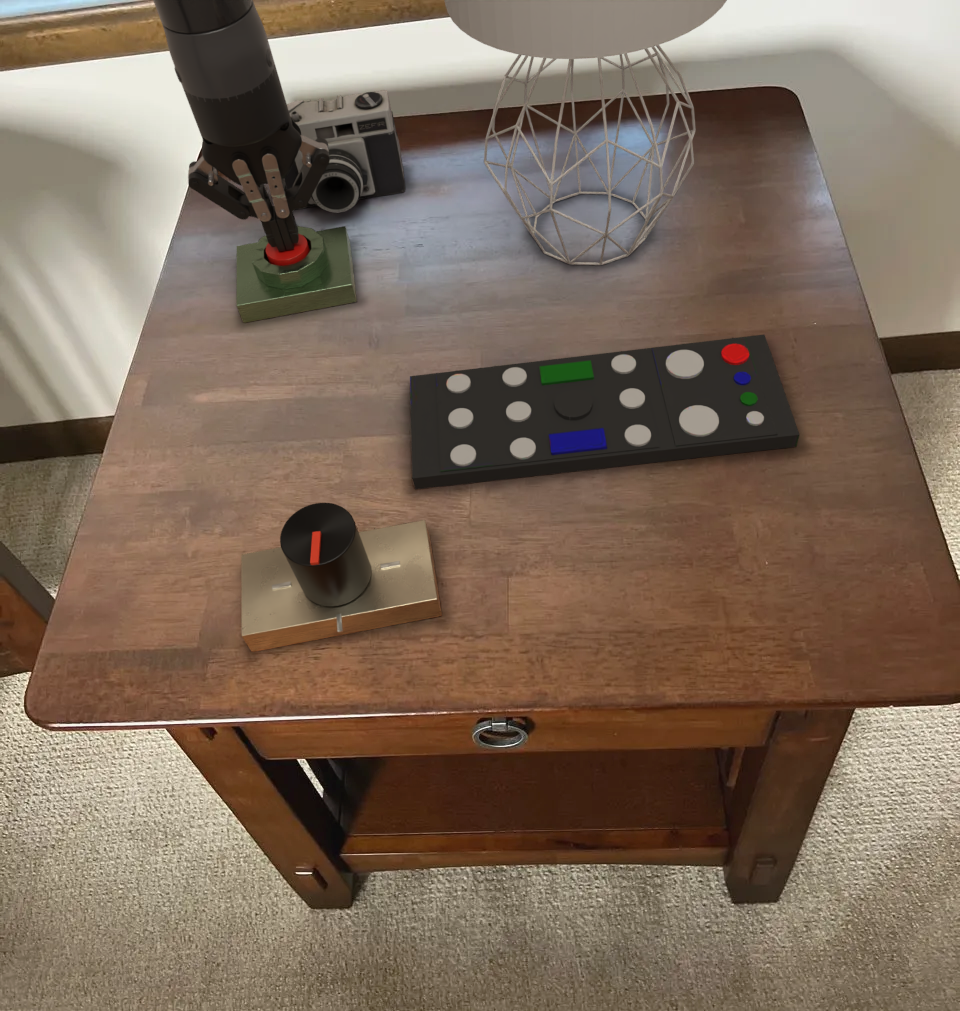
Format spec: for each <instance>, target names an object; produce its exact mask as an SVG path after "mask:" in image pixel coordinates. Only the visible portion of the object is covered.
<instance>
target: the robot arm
mask: <svg viewBox="0 0 960 1011" xmlns="http://www.w3.org/2000/svg"><path fill="white" fill-rule="evenodd" d="M152 1H153V4H154V6H155V9H156V12H157V14H158V17H159V20H160V22H161V25H162V29H163V31H164V35H165V39H166V40H165V41H166V43H167V44H166V45H167V48H168V52H169V54H170V58H171V60H172V63H173V65H174V71H175V74H176V77H177V79H178V81H179V83H180V84H181V86H182V90H183V92H184V95H185V97H186V100H187V102H188V105H189V107H190V111H191V113H192V115H193V118H194V121H195V123H196V125H197V126H196V127H197V128H198V131H199V133H200V136H201V139H202V142H201V156H200V158H199V159H198V160H197V161H191V162H189V164H188V172H187V173H188V174H187V179H188V180H187V183H188V184H187V185H188V186H189V188H191V189H192V190H193V191H195V192H196V193H197V194H200V195H201V196H203V197H204V198H206V199H208V200H209V201H210V202H212V203H214V204H216V205H217V206H218V207H220V208H222V209H223V210H225V211H226V212H228V213H229V214H231V215H232V216H234V217H236V218H238V219H239V220H242V221H243V220H244V221H245V220H247V219H248V218H255V219H258V221H260V223H261V226H262V228H263V231H264V234H265V236H266V237H267V240H268V243H269V244H270V245H271V246H272V247H277V248H278V251H279V252H283V251H288V250H293V249H294V243H298V239H299V235H298V227H297V226H298V225H297V221H296V218H295V215H294V211H295V210H298V209H297V208H299V210H301V209H302V210H303V209H304V208H307V207H306V206H307V204H308V202H309V200H310V198H311V196H312V194H313V192H314V190H315V189H316V187H317V185H318V183H319V181H320V179H321V177H322V175H323V173H324V171H325V169H326V167H327V166H328V164H329V161H330V158H329V148H328V142H327V140H326V139H324V138H318V139H316V140H315V141H314V140H312V139H310V138H308V137H305V136H303V135H301V130H300V128H299V126H298V125H297V124H296V123H295V122H294V121H293V120H292V118H291V116H290V114H289V111H288V107H287V104H288V103H287V101H286V97H285V94H284V91H283V87H282V82H281V80H280V76H279V74H278V70H277V66H276V63H275V60H274V56H273V52H272V49H271V45H270V43H269V39H268V35H267V32H266V28H265V26H264V23H263V21H262V19H261V17H260V15H259V13H258V10H257V8H256V6H255V2H254V0H152ZM299 150H300V151H301V152H302V153H301V156H302V163H303V166H302V168H301V170H300V172H299V174H298V176H297V178H296V180H295V182H294V184H293V187H292V188H290V189H288V190H287V187H286V183H285V177H286V176H287V175H288V174H289V172H290V170H291V167H292V165H293V163H294V161H295V158H296V156H297V154H298V151H299ZM219 173H220V174H222V175H223V176H225V177H226V178H228V179H229V180H230V181H231V182H233V183H235V184H236V185H238V186H241V187H242V189H243V190H242V189H241V188H239V187H237V186H236V185H234V184H233V183H231V182H230V181H228V180H227V179H226V178H224V177H223V176H221V175H219ZM266 185H267V186H268V189H269V193H268V190H267V188H266ZM269 194H270V195H269ZM271 198H272V201H271ZM272 202H273V204H272Z"/></svg>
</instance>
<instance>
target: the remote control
mask: <svg viewBox="0 0 960 1011" xmlns="http://www.w3.org/2000/svg"><path fill="white" fill-rule="evenodd" d="M409 390H410V391H409V395H410V396H409V398H410V400H409V401H410V436H411V437H410V438H411V439H410V440H411V442H410V443H411V444H410V445H411V479H412V482H413V483H412V484H413V486H414V490H422V489H432V488H433V489H434V488H441V487H449V486H459V485H467V484H475V483H477V484H478V483H485V482H493V481H495V482H496V481H503V480H512V479H513V480H514V479H521V478H529V477H539V476H547V475H556V474H566V473H572V472H573V473H575V472H584V471H592V470H601V469H609V468H610V469H611V468H617V467H618V468H619V467H628V466H636V465H637V466H638V465H646V464H655V463H663V462H664V463H665V462H674V461H681V460H689V459H700V458H707V457H708V458H709V457H717V456H725V455H733V454H743V453H745V454H746V453H751V452H753V453H754V452H762V451H770V450H780V449H788V448H789V449H790V448H797V446H798V442H799V438H800V432H799V428H798V426H797V423H796V420H795V417H794V415H793V412H792V409H791V406H790V403H789V401H788V397H787V395H786V392H785V389H784V386H783V383H782V381H781V378H780V374H779V372H778V369H777V366H776V364H775V360H774V358H773V355H772V352H771V349H770V346H769V343H768V340H767V338H766V335H765V334H757V335H747V336H740V337H730V338H721V339H716V340H715V339H714V340H706V341H705V340H704V341H696V342H689V343H680V344H671V345H664V346H654V347H645V348H638V349H637V348H636V349H630V350H619V351H613V352H612V351H611V352H602V353H596V354H595V353H594V354H588V355H586V354H585V355H578V356H571V357H569V356H568V357H562V358H554V359H553V358H551V359H544V360H536V361H527V362H519V363H510V364H503V365H502V364H501V365H494V366H486V367H477V368H468V369H460V370H450V371H444V372H443V371H442V372H435V373H426V374H417V375H411V376H409Z"/></svg>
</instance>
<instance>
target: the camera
mask: <svg viewBox="0 0 960 1011" xmlns="http://www.w3.org/2000/svg"><path fill="white" fill-rule="evenodd" d="M389 96H390V95H389V92H388V90H386V89H379V90H374V91H365V92H361V93H355V94H348V95H343V96H342V95H341V94H339V95H336V98H335V99H330V100H324V97H320V98H319V99H318V100H311V99H307V100H303V99H301V100H294V101H291V102H289V103H286V104H287V107H288V111H289V114H290V116H291V118H292V120H293V121H294V122H295V123H296V124H297V125H298V126H299V128H300V130H301V135H303V136H305V137H308V138H310V139H312V140H314V141H315V140H316V139H318V138H324V139H326V140H327V142H328V148H329V158H330V161H329V164H328V166H327V167H326V169H325V171H324V173H323V175H322V177H321V179H320V181H319V183H318V185H317V187H316V189H315V190H314V192H313V194H312V196H311V198H310V200H309V202H308V204H307V206H306V207H305V208H311V207H319V208H320V209H322V210H323V211H326V212H329V213H335V214H337V213H338V214H339V213H344V212H347V211H349V210H351V209H353V207H355V206H356V205H357V204H358V202H359V200H364V199H370V198H376V197H383V196H389V195H395V194H400V193H401V194H402V193H405V191H406V181H405V170H404V169H405V168H404V165H403V159H402V151H401V145H400V140H399V136H398V132H397V129H396V123H395V122H396V121H395V118H394V113H393V110H392V107H391V101H390V97H389ZM301 153H302V152H301V151H300V150H299V151H298V154H297V156H296V158H295V161H294V163H293V165H292V167H291V170H290V172H289V174H288V175H287V176H286V177H285V183H286V187H287V190H288V189H290V188H292V187H293V184H294V182H295V180H296V178H297V176H298V174H299V172H300V170H301V168H302V166H303V163H302V156H301ZM298 209H299V208H297V209H296V210H298ZM299 210H300V209H299Z"/></svg>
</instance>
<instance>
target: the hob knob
mask: <svg viewBox="0 0 960 1011" xmlns="http://www.w3.org/2000/svg"><path fill="white" fill-rule="evenodd" d="M359 532H360V531H359V530H358V527H357V525H356V521H355V519H354V517H353V515H352V514H351V513H350V512H349V511H348V510H347V509H346V508H344V507H343V506H341V505H339V504H336V503H332V502H315V503H312V504H311V503H310V504H309V505H306V506H304V507H302V508H300V509H298V510H297V511H295V512H294V513H293V514H291V516H289V518H288V519H287V520H286V522H285V523H284V525H283V526H282V528H281V532H280V537H279V543H280V547H281V548H282V551H283V553H284V555H285V557H286V559H287V561H288V563H289V565H290V567H291V569H292V571H293V573H294V575H295V577H296V578H297V580H298V582H299V584H300V586H301V588H302V590H303V592H304V594H305V595H306V597H307V598H308V599H310V600H311V601H312V602H314V603H316V604H319V605H322V606H339V605H343V604H346V603H348V602H350V601H352V600H354V599H355V598H357V597H358V596H359V595H360V594H361V593H362V592H363V591H364V590H365V588H366V587H367V585H368V583H369V580H370V577H371V565H370V562H369V559H368V556H367V554H366V551H365V548H364V546H363V543H362V540H361V538H360V535H359Z"/></svg>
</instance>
